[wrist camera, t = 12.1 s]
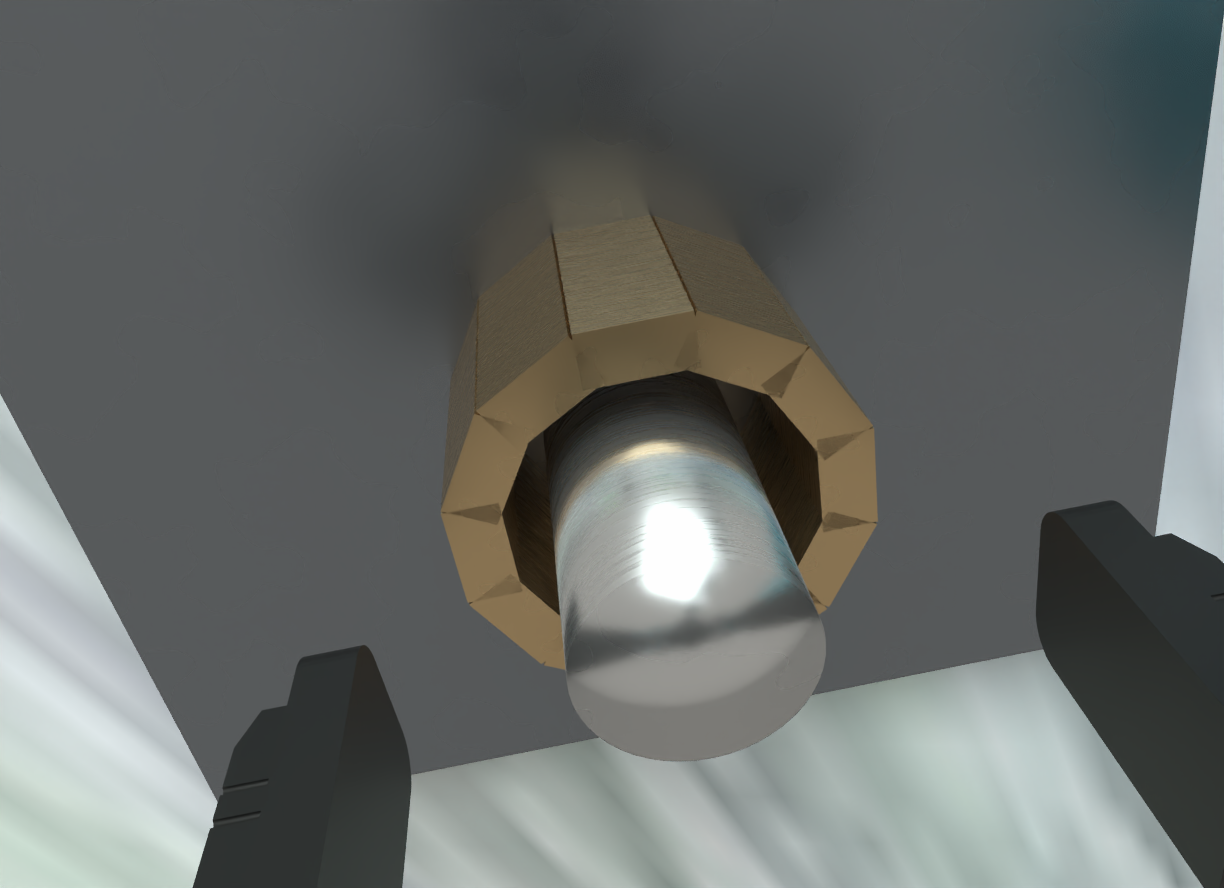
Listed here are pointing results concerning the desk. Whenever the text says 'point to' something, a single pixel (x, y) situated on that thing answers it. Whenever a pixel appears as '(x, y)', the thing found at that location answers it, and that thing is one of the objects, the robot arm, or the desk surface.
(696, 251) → the bronze ring
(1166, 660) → the robot arm
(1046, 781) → the desk surface
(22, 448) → the desk surface
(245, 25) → the piston stand
